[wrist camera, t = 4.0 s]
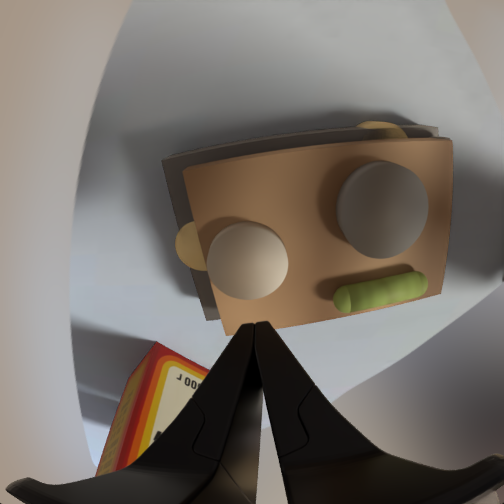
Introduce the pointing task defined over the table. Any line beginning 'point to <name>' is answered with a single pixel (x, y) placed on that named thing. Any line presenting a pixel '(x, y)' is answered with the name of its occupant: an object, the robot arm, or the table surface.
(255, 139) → the instrument base
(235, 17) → the table surface
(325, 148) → the level plate
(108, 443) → the baking soda box
